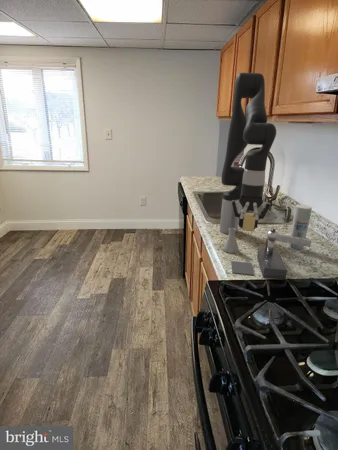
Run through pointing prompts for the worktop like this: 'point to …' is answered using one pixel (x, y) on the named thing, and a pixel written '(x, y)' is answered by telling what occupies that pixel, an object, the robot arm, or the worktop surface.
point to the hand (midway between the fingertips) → (247, 228)
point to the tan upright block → (248, 222)
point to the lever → (288, 238)
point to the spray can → (300, 224)
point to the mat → (242, 268)
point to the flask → (231, 242)
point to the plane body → (271, 262)
